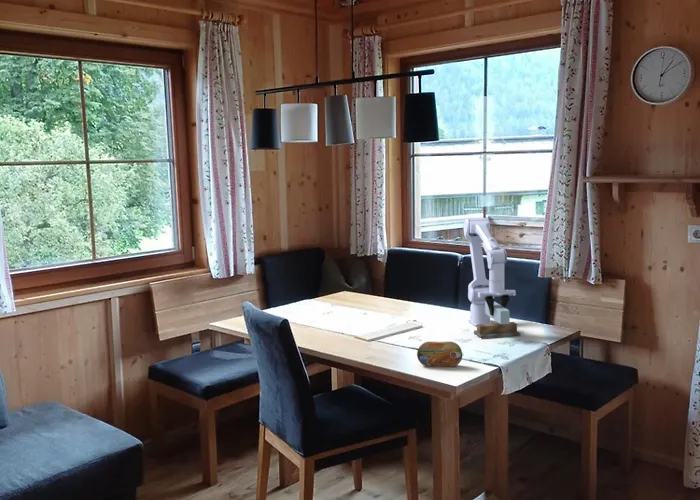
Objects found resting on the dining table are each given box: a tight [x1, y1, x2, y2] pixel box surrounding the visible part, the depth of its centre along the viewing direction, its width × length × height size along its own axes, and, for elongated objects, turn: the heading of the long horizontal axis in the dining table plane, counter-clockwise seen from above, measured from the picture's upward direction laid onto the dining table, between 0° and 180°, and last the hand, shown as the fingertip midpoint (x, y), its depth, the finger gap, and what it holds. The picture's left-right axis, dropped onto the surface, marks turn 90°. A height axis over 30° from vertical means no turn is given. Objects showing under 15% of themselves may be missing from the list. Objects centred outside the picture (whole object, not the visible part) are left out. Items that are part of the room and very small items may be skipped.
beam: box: [485, 300, 511, 324], centre depth 262 cm, size 18×4×5 cm, turn 7°
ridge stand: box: [473, 321, 522, 339], centre depth 263 cm, size 16×8×4 cm, turn 98°
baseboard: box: [353, 319, 423, 343], centre depth 273 cm, size 30×3×10 cm
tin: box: [416, 341, 463, 368], centre depth 227 cm, size 15×3×8 cm, turn 80°
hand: (496, 314), depth 263 cm, fingers closed on beam, 3 cm apart
